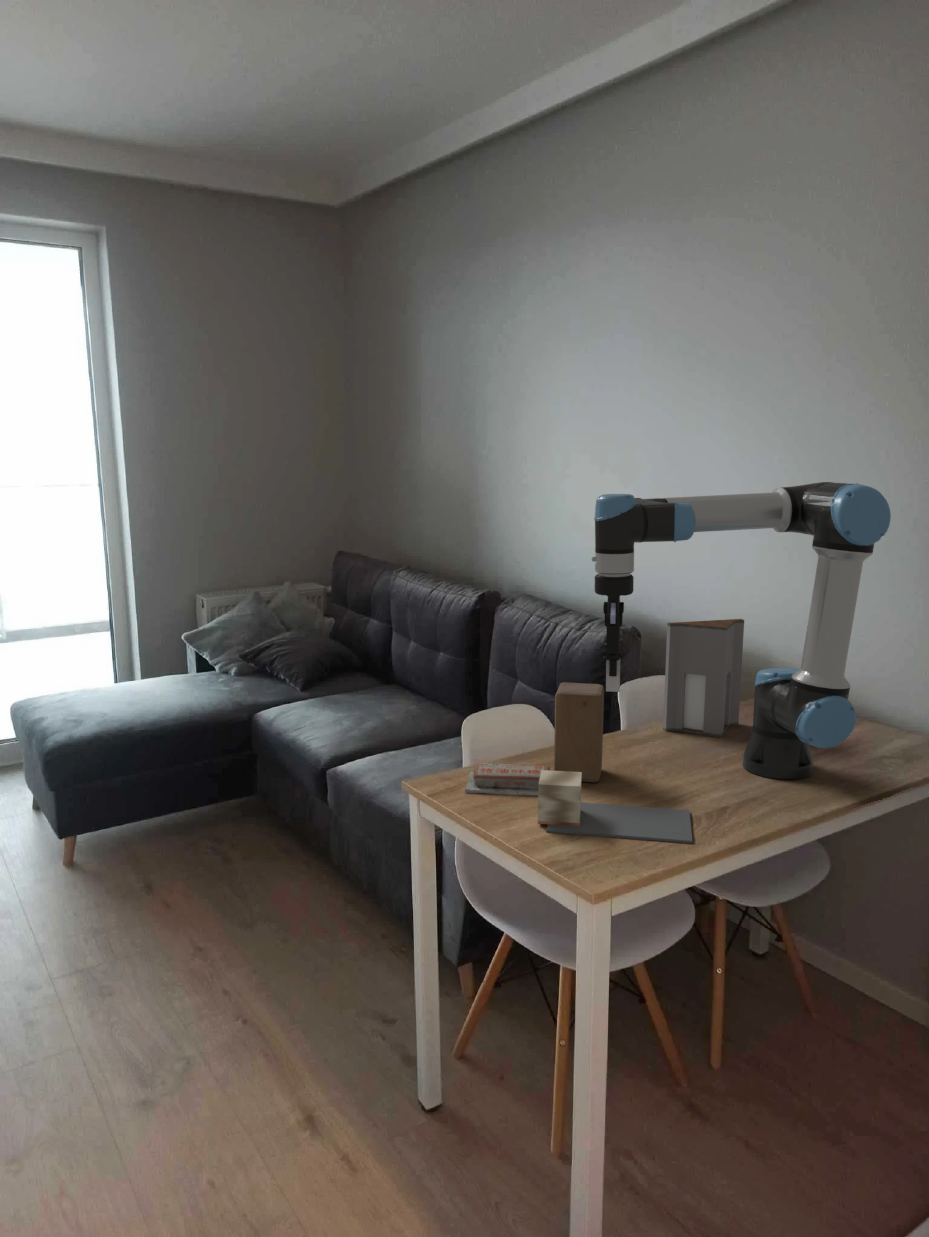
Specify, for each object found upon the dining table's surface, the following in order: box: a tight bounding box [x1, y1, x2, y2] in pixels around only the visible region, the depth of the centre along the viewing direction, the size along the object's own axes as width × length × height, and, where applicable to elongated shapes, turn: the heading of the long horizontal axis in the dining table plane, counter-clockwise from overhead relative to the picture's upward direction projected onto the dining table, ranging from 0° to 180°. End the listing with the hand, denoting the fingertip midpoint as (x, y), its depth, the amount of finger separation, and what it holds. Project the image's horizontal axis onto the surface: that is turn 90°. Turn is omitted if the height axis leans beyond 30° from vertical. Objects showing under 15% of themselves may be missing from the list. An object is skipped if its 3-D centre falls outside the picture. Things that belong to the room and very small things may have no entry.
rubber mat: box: [545, 801, 693, 844], centre depth 184 cm, size 27×15×1 cm, turn 79°
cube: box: [537, 770, 582, 826], centre depth 184 cm, size 8×8×8 cm
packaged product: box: [464, 762, 551, 797], centre depth 202 cm, size 18×5×10 cm
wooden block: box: [553, 681, 605, 783], centre depth 208 cm, size 10×10×20 cm
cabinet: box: [662, 618, 745, 738], centre depth 238 cm, size 21×10×28 cm, turn 106°
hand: (612, 690), depth 189 cm, fingers closed
